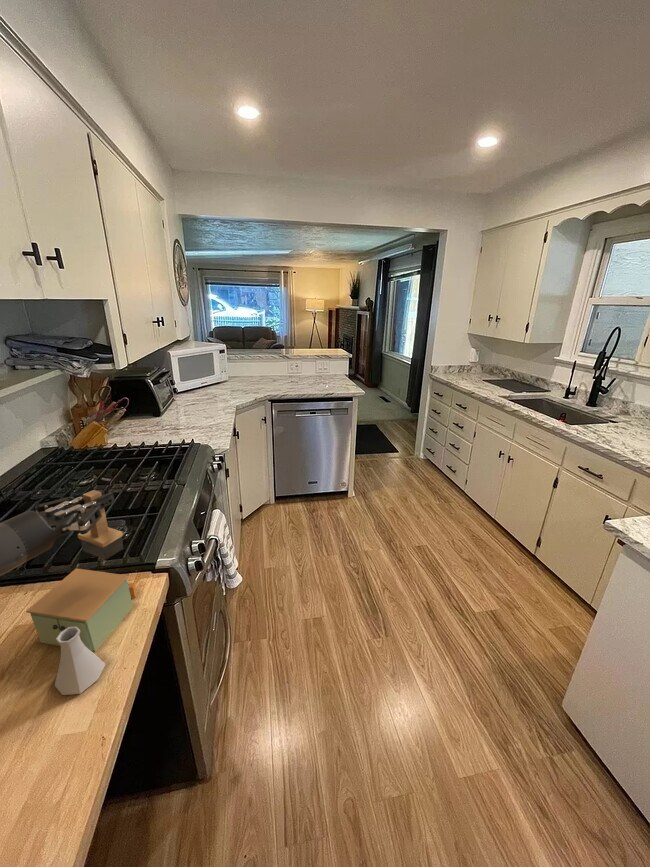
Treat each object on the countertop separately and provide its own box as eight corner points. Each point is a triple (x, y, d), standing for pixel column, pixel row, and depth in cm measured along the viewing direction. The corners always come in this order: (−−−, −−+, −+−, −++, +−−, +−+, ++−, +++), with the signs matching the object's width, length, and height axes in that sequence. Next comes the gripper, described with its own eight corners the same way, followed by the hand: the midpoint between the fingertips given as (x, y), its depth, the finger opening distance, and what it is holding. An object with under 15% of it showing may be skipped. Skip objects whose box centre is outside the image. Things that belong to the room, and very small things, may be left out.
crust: (133, 587, 80) (134, 582, 81) (119, 589, 79) (120, 584, 80) (135, 597, 81) (136, 592, 82) (121, 600, 80) (123, 595, 81)
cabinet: (35, 645, 69) (23, 612, 66) (84, 598, 80) (75, 568, 77) (93, 656, 67) (83, 622, 64) (135, 605, 78) (128, 575, 76)
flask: (45, 690, 61) (29, 648, 58) (82, 653, 68) (69, 613, 64) (80, 701, 60) (66, 658, 56) (113, 661, 66) (103, 621, 63)
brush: (105, 560, 70) (93, 502, 66) (81, 551, 73) (68, 494, 69) (125, 548, 74) (115, 492, 70) (101, 539, 77) (90, 484, 72)
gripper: (30, 535, 54) (129, 485, 69) (-23, 514, 59) (81, 472, 74) (42, 575, 56) (135, 518, 71) (-9, 552, 61) (88, 503, 76)
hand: (107, 495), depth 72 cm, fingers closed on brush, 2 cm apart
